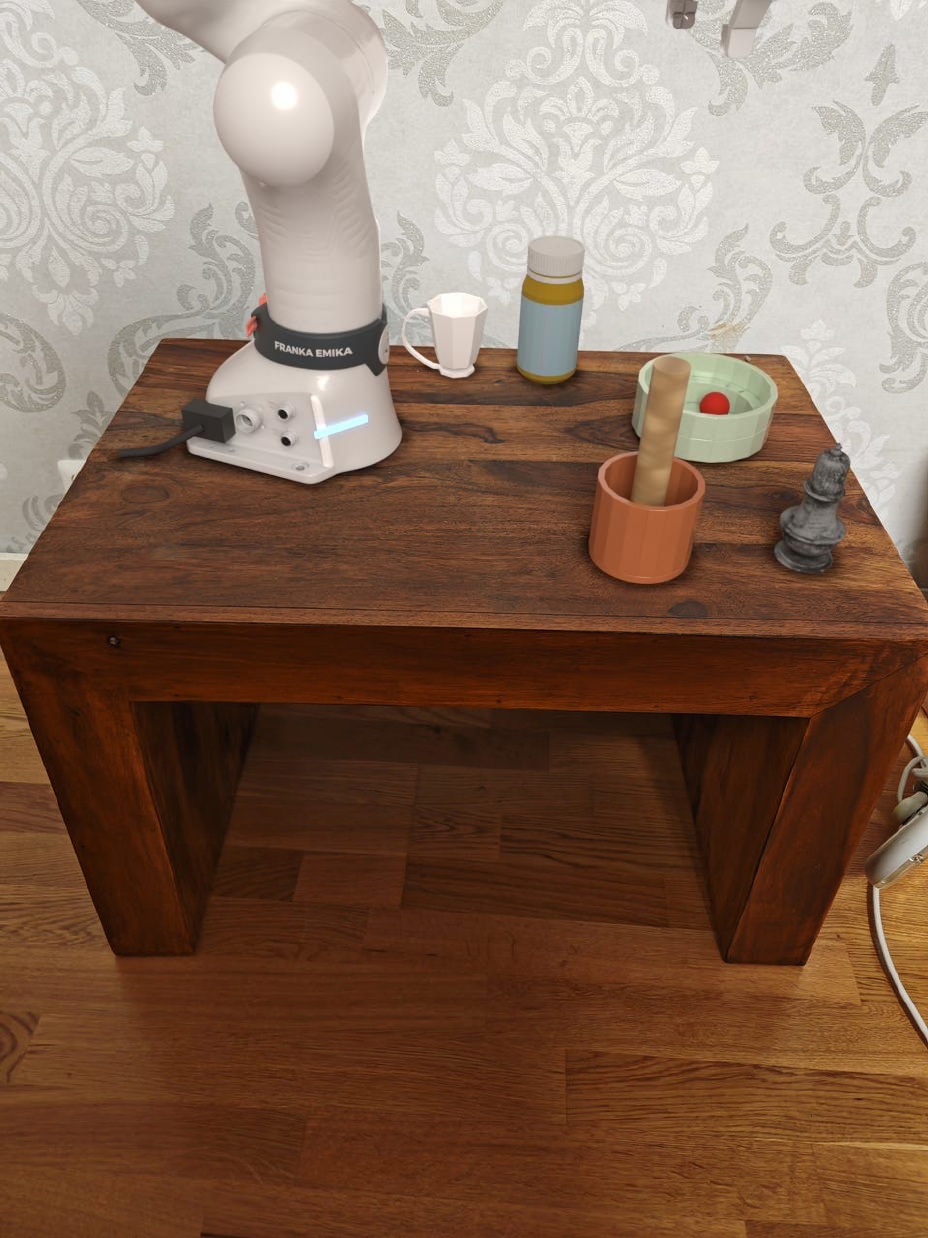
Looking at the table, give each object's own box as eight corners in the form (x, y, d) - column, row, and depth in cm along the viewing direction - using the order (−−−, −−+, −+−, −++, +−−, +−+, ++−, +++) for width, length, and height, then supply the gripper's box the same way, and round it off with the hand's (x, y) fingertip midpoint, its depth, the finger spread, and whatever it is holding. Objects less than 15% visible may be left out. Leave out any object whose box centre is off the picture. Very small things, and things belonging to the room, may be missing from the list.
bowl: (626, 459, 101) (634, 408, 97) (635, 393, 112) (642, 345, 108) (766, 477, 99) (781, 425, 95) (762, 408, 110) (774, 359, 106)
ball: (696, 425, 105) (702, 398, 103) (697, 410, 108) (702, 384, 105) (726, 428, 105) (732, 402, 103) (726, 414, 107) (732, 388, 105)
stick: (621, 553, 88) (652, 371, 76) (624, 533, 90) (654, 354, 78) (655, 557, 87) (691, 375, 75) (656, 538, 90) (691, 358, 78)
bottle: (572, 388, 112) (586, 260, 102) (513, 382, 113) (521, 254, 103) (577, 361, 117) (590, 236, 108) (519, 355, 118) (528, 231, 108)
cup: (481, 386, 112) (483, 319, 107) (396, 378, 113) (395, 312, 108) (489, 358, 117) (492, 294, 112) (408, 351, 118) (407, 286, 113)
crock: (583, 576, 86) (593, 502, 81) (593, 517, 93) (603, 445, 88) (687, 591, 85) (704, 517, 80) (689, 530, 92) (705, 457, 87)
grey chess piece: (791, 580, 87) (828, 465, 79) (758, 541, 91) (790, 429, 83) (848, 569, 88) (890, 456, 80) (813, 532, 92) (850, 421, 84)
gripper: (638, -222, 66) (612, 12, 76) (777, -214, 52) (725, 76, 61) (722, -219, 68) (687, 11, 77) (882, -211, 53) (815, 73, 62)
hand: (705, 40), depth 69 cm, fingers open, 8 cm apart
